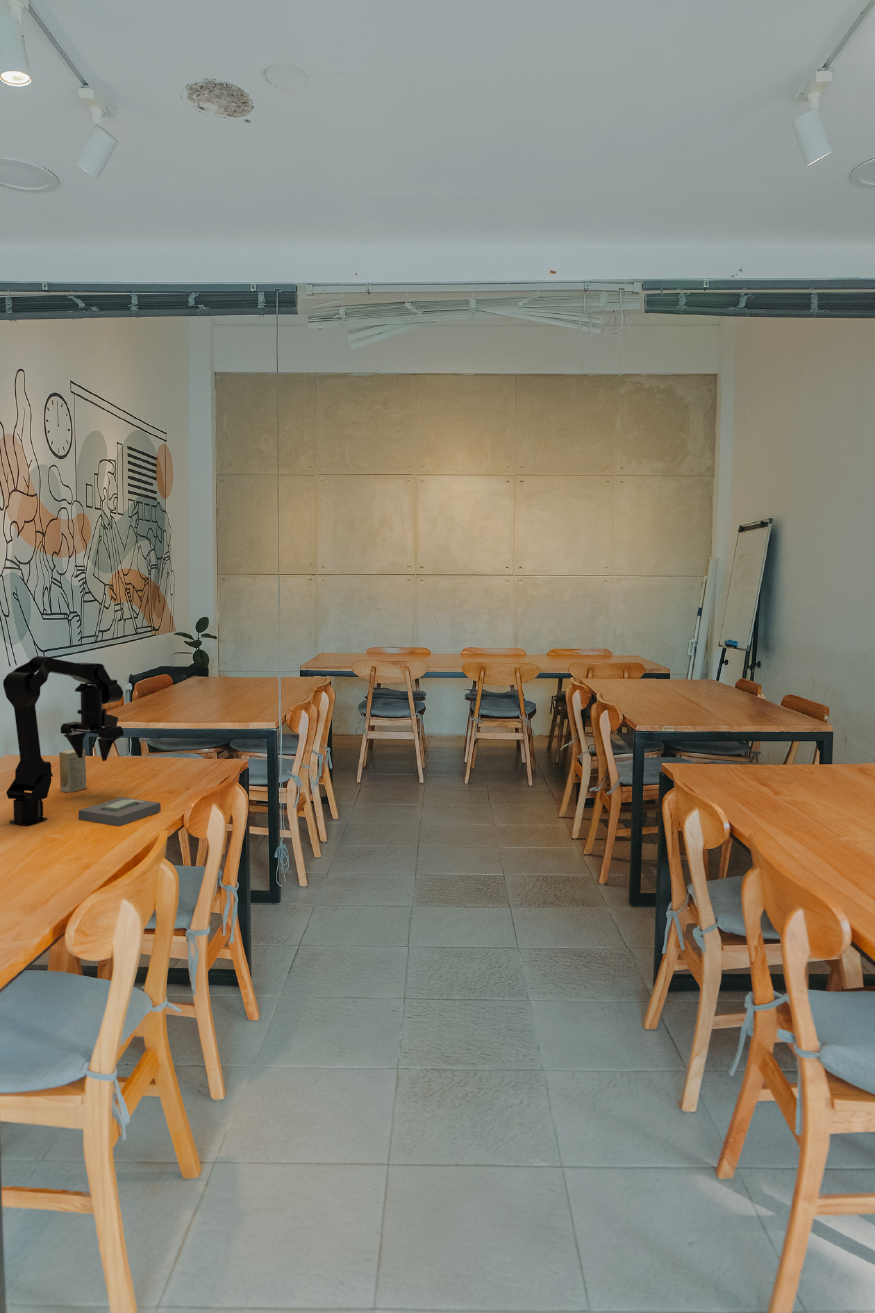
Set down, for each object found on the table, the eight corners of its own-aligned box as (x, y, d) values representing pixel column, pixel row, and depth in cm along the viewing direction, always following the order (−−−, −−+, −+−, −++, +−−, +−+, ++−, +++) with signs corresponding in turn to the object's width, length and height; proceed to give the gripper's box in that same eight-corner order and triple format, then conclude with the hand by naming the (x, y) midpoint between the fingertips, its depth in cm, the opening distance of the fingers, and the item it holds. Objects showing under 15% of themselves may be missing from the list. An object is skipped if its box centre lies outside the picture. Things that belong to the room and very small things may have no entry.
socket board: (119, 826, 211) (119, 816, 211) (78, 819, 216) (78, 809, 216) (160, 811, 225) (160, 802, 225) (121, 805, 231) (121, 796, 230)
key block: (136, 813, 224) (136, 800, 224) (117, 821, 216) (117, 808, 216) (123, 812, 225) (123, 799, 225) (104, 819, 218) (104, 806, 217)
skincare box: (78, 787, 251) (77, 748, 250) (87, 789, 249) (86, 749, 248) (59, 791, 246) (58, 751, 245) (68, 793, 243) (67, 753, 242)
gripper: (136, 705, 238) (137, 757, 239) (88, 700, 245) (89, 751, 246) (108, 709, 228) (109, 764, 229) (58, 705, 235) (59, 758, 236)
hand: (92, 759), depth 235 cm, fingers open, 9 cm apart
